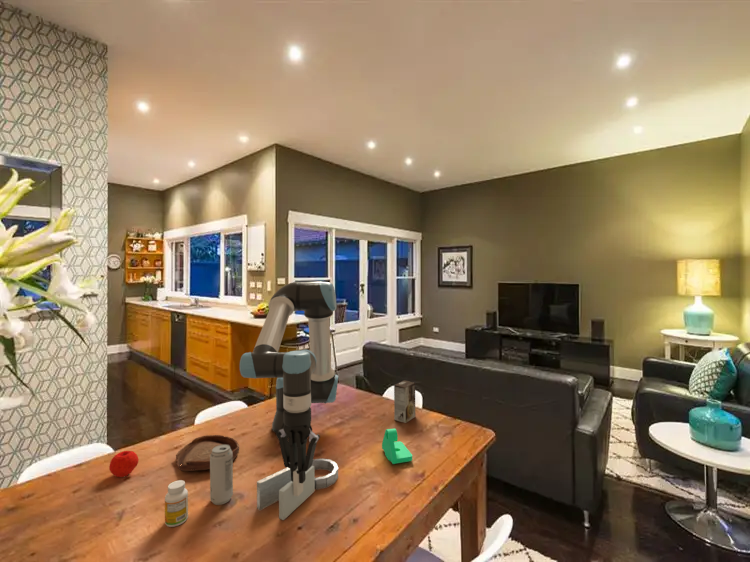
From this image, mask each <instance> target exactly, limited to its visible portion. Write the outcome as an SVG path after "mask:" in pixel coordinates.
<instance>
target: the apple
mask: <svg viewBox="0 0 750 562" xmlns="http://www.w3.org/2000/svg"><path fill="white" fill-rule="evenodd" d="M139 460H140V459H139V457H138V455H137V453H136V452H135V451H132V450H123V451H120V452H118V453H116V454H115V455H114V456H113V457H112V458H111V460H110V462H109V466H108V467H109V471H110V473H111V474H112V475H113V476H114V477H117V478H124V476H125V477H127V476H128V474H129V475H130V474H131V473H132V472H133V471H134V470H135V468H136V467H137V466H138V464H139Z"/></svg>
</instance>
